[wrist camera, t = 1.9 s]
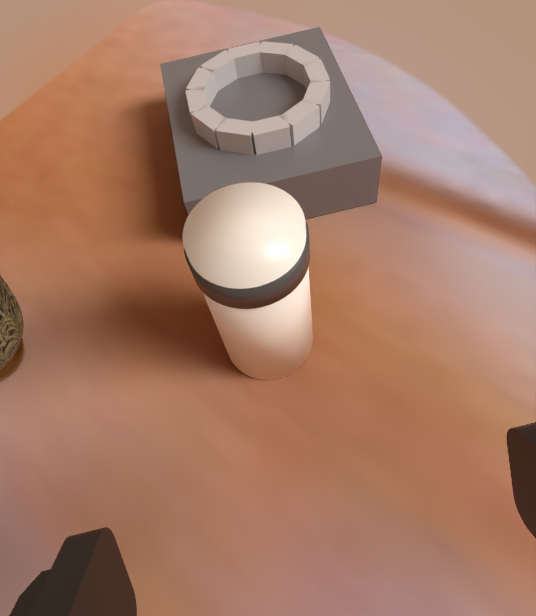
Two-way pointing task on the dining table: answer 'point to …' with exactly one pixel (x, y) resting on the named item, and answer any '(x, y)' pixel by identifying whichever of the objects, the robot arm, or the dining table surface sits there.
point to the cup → (10, 332)
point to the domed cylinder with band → (254, 275)
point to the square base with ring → (271, 124)
